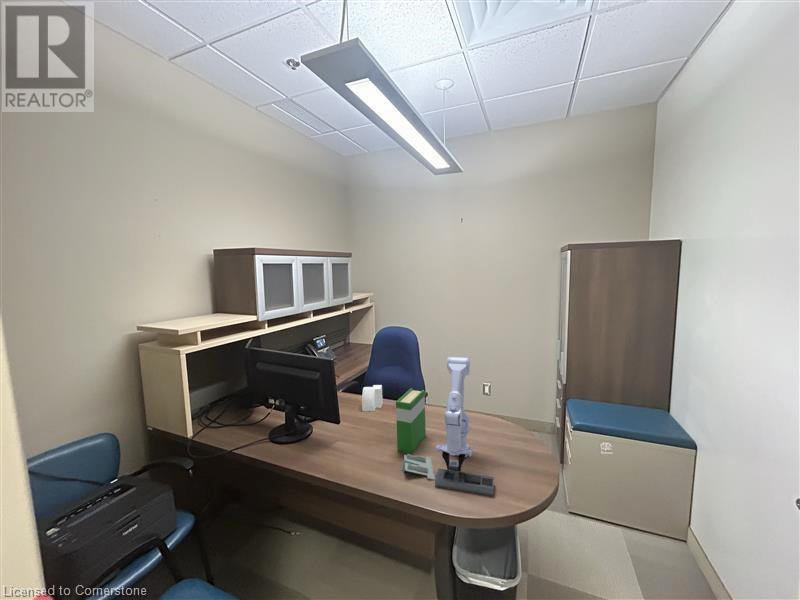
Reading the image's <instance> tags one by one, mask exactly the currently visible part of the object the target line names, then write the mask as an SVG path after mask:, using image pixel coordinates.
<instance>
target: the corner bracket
mask: <svg viewBox="0 0 800 600" xmlns="http://www.w3.org/2000/svg"><path fill="white" fill-rule="evenodd" d="M383 401H384V399H383V385H382V384H373V385H372V386H364V387H363V388H362V394H361V411H362V412H375V411H376V409H382V406H383Z"/></svg>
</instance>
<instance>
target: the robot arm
mask: <svg viewBox="0 0 800 600" xmlns="http://www.w3.org/2000/svg"><path fill="white" fill-rule="evenodd" d="M446 361H447V362H446V367H447V371H448V373H449V374H450V375H451V391H450V392H449V393H448V397H447V406H446V410H445V411H444V424H445V429H446V444H437V445H436V447H435V453H436V452H437V453H439V452H440V453H441V452H442V453H441V457H442V459H443V460H444V463H445V466H446V470H449V462H450V460H451V459H450V456H458V460H457V461H459V472H462V471H461V470H462V465H463V463H464V460H465V459H466V457H472V455H473V450H472V449H469V444H468V442H467V441H468V436H467V435H469V434H470V430H471V422H470V416H469V415H468V414H467V413H466V412H465V411H464V407H465V406H464V403H465V402H464V401H465V398H464V397H465V379H466V376H469V375H470V372H471V370H470V367H471V361H470V358H469V357H459V356H458V357H457V356H448V357H447V360H446Z"/></svg>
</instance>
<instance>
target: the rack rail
mask: <svg viewBox="0 0 800 600" xmlns="http://www.w3.org/2000/svg"><path fill="white" fill-rule="evenodd" d="M494 479H495V478H494V476H489V475H483V474H477V473H470V472H469V473H468V472H463V471H460V472H458V471H451V470H447V469H443V468H437V471H436V475H435V480H434V486H435V487H437V488H443V489H449V490H453V491H454V490H455V491H459V492H465V493H466V492H467V493H470V494H471V493H472V494H476V495H477V494H478V495H483V496H489V497H494V487H495V486H494V485H495V483H494V481H495V480H494ZM469 482H470V483H469ZM474 483H475V484H474Z"/></svg>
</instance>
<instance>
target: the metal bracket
mask: <svg viewBox="0 0 800 600" xmlns="http://www.w3.org/2000/svg"><path fill="white" fill-rule="evenodd" d="M403 457H404V459H403V462H402V466H401V468H400V469H401V470H402V471H403V474H405V472H410V473H413V474H418V475H423V476H426V477H427V479H428V480H432V481H435V478H436V475H435V473H434V468H433V462H432V461H433V460H432V458H431V457H430V456H421V455H412V454H410V453H407V454H404V455H403Z"/></svg>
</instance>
